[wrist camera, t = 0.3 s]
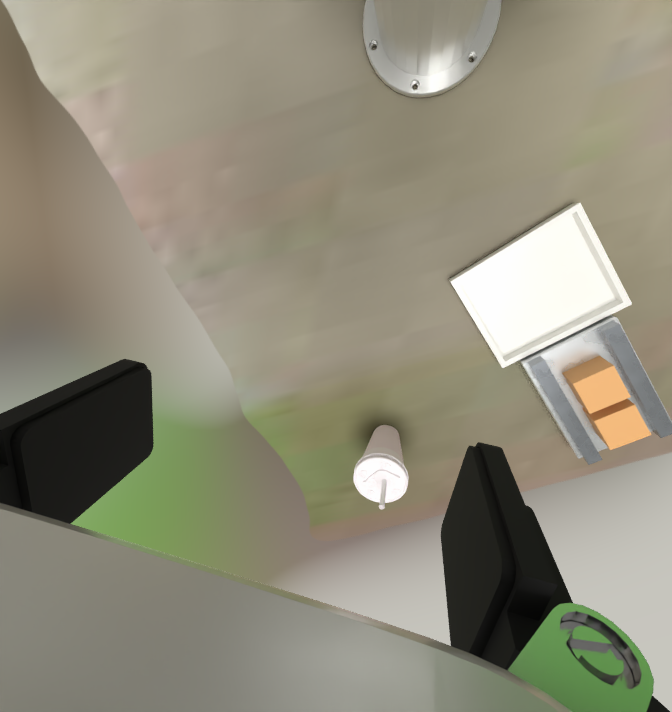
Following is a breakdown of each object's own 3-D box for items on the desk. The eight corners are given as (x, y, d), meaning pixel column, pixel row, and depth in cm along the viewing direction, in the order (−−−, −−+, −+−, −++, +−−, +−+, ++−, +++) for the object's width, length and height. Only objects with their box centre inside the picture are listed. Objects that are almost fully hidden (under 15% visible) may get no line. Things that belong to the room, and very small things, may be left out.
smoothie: (415, 451, 51) (415, 527, 38) (371, 459, 53) (358, 535, 40) (401, 411, 49) (396, 477, 36) (356, 422, 51) (337, 488, 38)
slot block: (515, 355, 44) (526, 369, 40) (603, 311, 40) (625, 321, 36) (568, 444, 46) (584, 466, 42) (655, 410, 43) (681, 430, 39)
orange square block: (561, 373, 41) (572, 383, 38) (599, 355, 39) (613, 365, 36) (578, 401, 41) (589, 414, 38) (615, 385, 40) (630, 396, 37)
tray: (448, 279, 42) (450, 281, 41) (571, 203, 38) (580, 202, 36) (499, 362, 45) (502, 368, 43) (621, 300, 40) (632, 304, 38)
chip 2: (582, 408, 41) (594, 421, 39) (619, 392, 40) (635, 404, 37) (597, 435, 42) (610, 450, 39) (635, 420, 41) (651, 434, 38)
